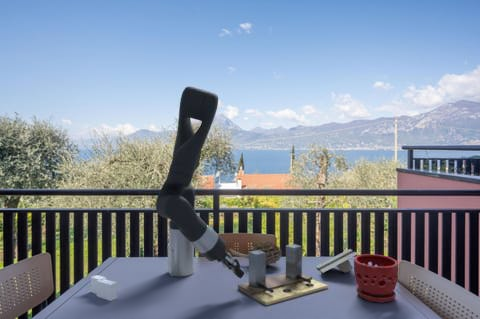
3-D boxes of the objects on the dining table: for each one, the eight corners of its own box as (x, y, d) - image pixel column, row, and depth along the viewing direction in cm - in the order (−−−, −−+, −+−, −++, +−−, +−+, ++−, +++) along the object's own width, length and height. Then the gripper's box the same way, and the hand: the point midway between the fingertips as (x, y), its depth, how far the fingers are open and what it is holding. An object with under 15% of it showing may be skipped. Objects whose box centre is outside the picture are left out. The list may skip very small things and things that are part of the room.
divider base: (260, 302, 107) (260, 261, 107) (237, 289, 117) (238, 251, 117) (321, 285, 121) (321, 249, 121) (296, 275, 131) (296, 241, 131)
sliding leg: (268, 294, 108) (268, 259, 108) (248, 284, 117) (248, 251, 117) (278, 292, 110) (278, 257, 110) (258, 282, 119) (258, 250, 119)
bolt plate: (266, 305, 104) (266, 301, 104) (252, 297, 110) (252, 294, 110) (327, 288, 118) (327, 285, 118) (313, 282, 124) (313, 279, 124)
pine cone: (282, 263, 146) (282, 239, 146) (280, 270, 137) (281, 245, 137) (230, 260, 150) (230, 237, 150) (225, 267, 141) (225, 242, 141)
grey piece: (338, 292, 125) (370, 264, 126) (322, 272, 127) (352, 245, 128) (330, 283, 142) (358, 258, 142) (315, 266, 143) (343, 241, 144)
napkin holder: (123, 302, 107) (123, 283, 107) (82, 307, 103) (82, 288, 103) (122, 285, 121) (122, 269, 121) (86, 289, 117) (86, 272, 117)
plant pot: (348, 289, 118) (348, 253, 117) (388, 289, 117) (388, 253, 117) (360, 305, 104) (361, 265, 104) (405, 306, 104) (405, 266, 104)
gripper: (226, 236, 102) (260, 271, 109) (205, 228, 113) (237, 260, 120) (210, 257, 99) (246, 291, 106) (190, 247, 110) (224, 279, 117)
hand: (241, 275), depth 113 cm, fingers closed
